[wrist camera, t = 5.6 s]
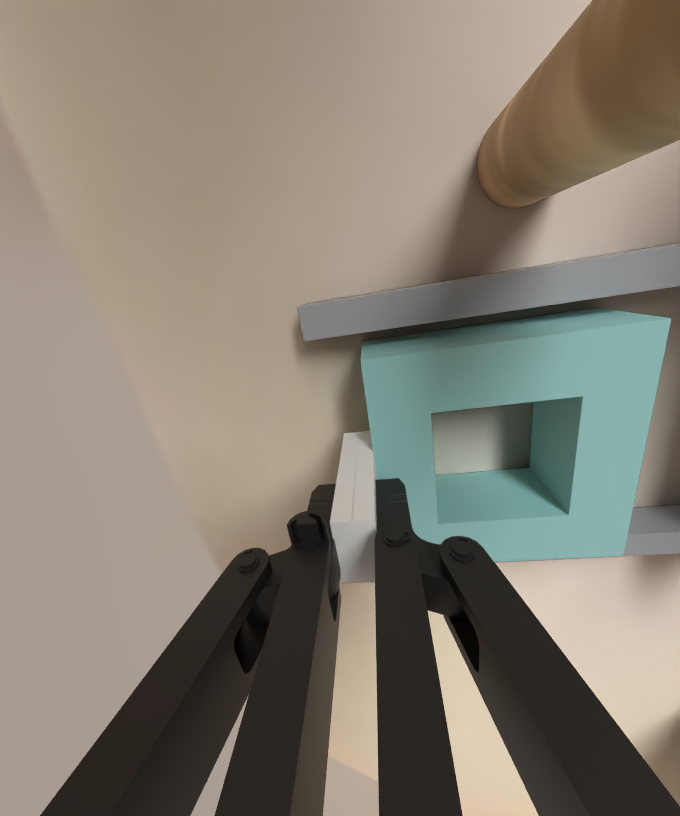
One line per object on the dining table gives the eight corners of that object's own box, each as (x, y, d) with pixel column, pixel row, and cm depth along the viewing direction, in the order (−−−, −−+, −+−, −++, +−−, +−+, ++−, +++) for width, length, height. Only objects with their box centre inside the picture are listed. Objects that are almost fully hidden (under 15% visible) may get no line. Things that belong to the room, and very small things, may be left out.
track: (305, 303, 16) (272, 318, 11) (833, 217, 13) (1168, 175, 8) (350, 544, 22) (344, 636, 16) (729, 522, 19) (879, 625, 13)
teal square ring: (362, 341, 17) (360, 360, 13) (598, 307, 15) (671, 318, 11) (385, 514, 21) (389, 567, 17) (574, 501, 19) (623, 555, 15)
